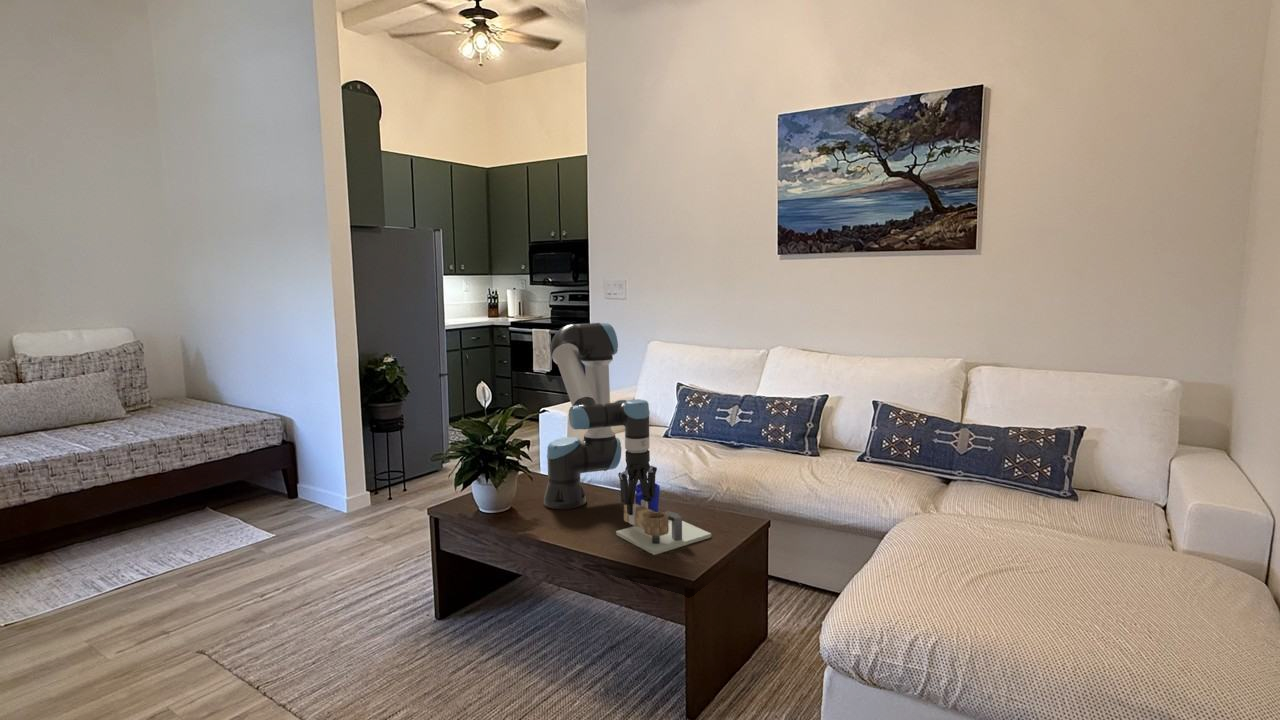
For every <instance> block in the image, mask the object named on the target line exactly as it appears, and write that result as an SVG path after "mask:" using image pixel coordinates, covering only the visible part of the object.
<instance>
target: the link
mask: <svg viewBox="0 0 1280 720" xmlns="http://www.w3.org/2000/svg"><path fill="white" fill-rule="evenodd" d="M634 504H635V505H636V525H635V526H637V527H639V528H641V529H643V530H645V533H646V534H648V535H651V536H662V535H665V534H668V531H669V522H668V514H666V513H664V512H665V511H663V512H662V511H658V512H655V511H652V510H650V509H648V508H645V507H643V506H640V505H638V504H636V502H634ZM654 516H658V517H660V518H652V517H654ZM623 521H624V522H626V523H629V515H628V514H627V505H626V504H624V505H623ZM629 524H630V523H629Z"/></svg>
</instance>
